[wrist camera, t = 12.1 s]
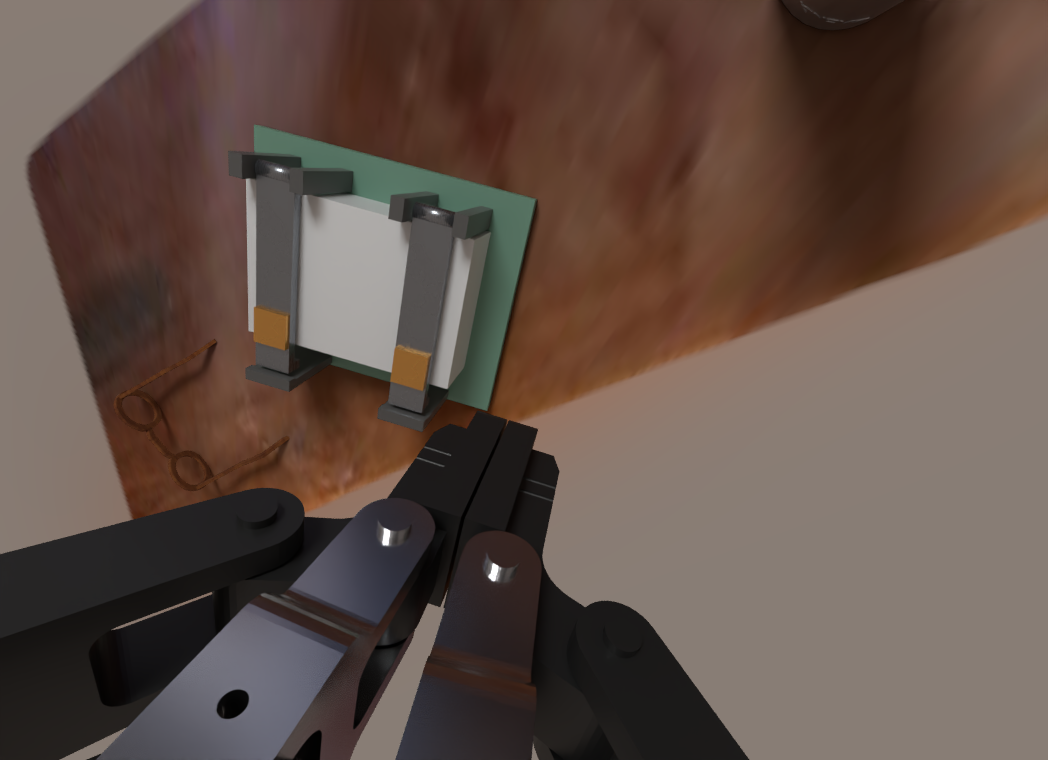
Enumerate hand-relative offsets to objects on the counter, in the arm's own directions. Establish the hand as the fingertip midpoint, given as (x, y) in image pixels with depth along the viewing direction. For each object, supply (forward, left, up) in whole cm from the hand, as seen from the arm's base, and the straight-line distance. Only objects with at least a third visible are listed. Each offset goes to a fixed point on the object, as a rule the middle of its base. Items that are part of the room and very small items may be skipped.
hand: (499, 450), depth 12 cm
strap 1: (+7, -23, -26) cm, 35 cm away
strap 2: (+7, -11, -26) cm, 29 cm away
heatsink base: (+7, -17, -31) cm, 36 cm away
